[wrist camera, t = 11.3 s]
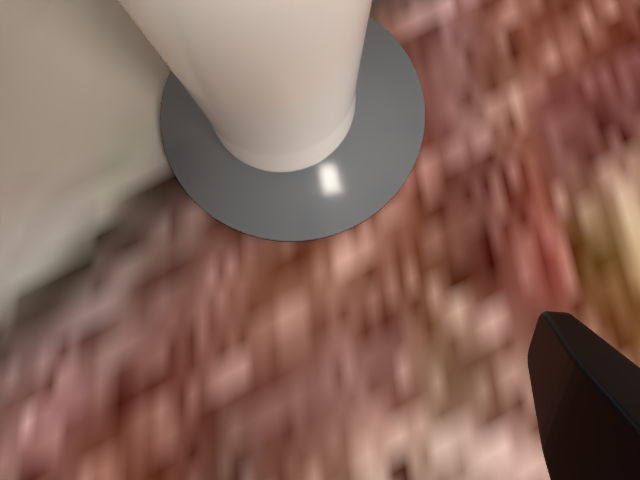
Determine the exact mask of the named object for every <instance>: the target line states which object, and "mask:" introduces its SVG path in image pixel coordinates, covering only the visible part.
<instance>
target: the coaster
mask: <svg viewBox="0 0 640 480" xmlns="http://www.w3.org/2000/svg"><path fill="white" fill-rule="evenodd" d="M160 121H161V135H162V140H163V145H164V149H165V153H166V155H167V158H168V161H169V164H170V166H171V168H172V170H173V172H174V174H175V176H176V177H177V179H178V181H179V182H180V184H181V185H182V186H183V188H184V189H185V191H186V192H187V193H188V195H189V196H190V197H191V198H192V199H193V200H194V201H195V202H196V203H197V204H198V205H199V206H200V207H201V208H202V209H203V210H204V211H205V212H207V213H208V214H209V215H211V216H212V217H213V218H214V219H216V220H218V221H219V222H221V223H223V224H224V225H226V226H228V227H230V228H232V229H234V230H236V231H239V232H241V233H244V234H246V235H249V236H253V237H257V238H261V239H265V240H272V241H280V242H302V241H310V240H318V239H322V238H326V237H330V236H334V235H337V234H339V233H342V232H344V231H347V230H349V229H352V228H353V227H355V226H357V225H359V224H361V223H362V222H364V221H366V220H367V219H369V218H370V217H371V216H373V215H374V214H376V213H377V212H378V211H380V210H381V209H382V208H383V207H384V206H385V205H386V204H387V203H388V202H389V201H390V200H391V199H392V198H393V197H394V196H395V194H396V193H397V192H398V191H399V189H400V188H401V187H402V186H403V184H404V182H405V181H406V179H407V177H408V176H409V174H410V172H411V170H412V168H413V166H414V163H415V161H416V159H417V156H418V154H419V151H420V147H421V143H422V139H423V134H424V125H425V105H424V98H423V93H422V88H421V84H420V81H419V78H418V75H417V72H416V70H415V68H414V66H413V64H412V62H411V60H410V58H409V57H408V55H407V54H406V52H405V51H404V49H403V48H402V46H401V45H400V44H399V43H398V41H397V40H396V39H395V38H394V37H393V36H392V35H391V33H389V32H388V31H387V30H386V29H385V28H384V27H383V26H382V25H380V24H379V23H378V22H377V21H375V20H374V19H372V18H371V17H369V21H368V26H367V31H366V36H365V41H364V47H363V52H362V57H361V63H360V68H359V74H358V80H357V86H356V107H355V113H354V118H353V121H352V124H351V127H350V129H349V131H348V133H347V135H346V137H345V138H344V140H343V141H342V143H341V144H340V145H339V146H338V147H337V149H336V150H335V151H334V152H333V153H332V154H330V155H329V156H328V157H327V158H325V159H324V160H322V161H321V162H319V163H317V164H315V165H313V166H311V167H308V168H305V169H302V170H298V171H294V172H282V173H278V172H268V171H263V170H259V169H256V168H254V167H251V166H249V165H247V164H245V163H243V162H241V161H240V160H238V159H237V158H236V157H234V156H233V155H232V154H231V153H230V152H229V151H228V150H227V149H226V148H225V147H224V146H223V144H222V143H221V142H220V140H219V139H218V137H217V135H216V134H215V132H214V130H213V128H212V126H211V124H210V122H209V120H208V119H207V118H206V116H205V115H204V114H203V112H202V111H201V110H200V108H199V107H198V105H197V104H196V103H195V101H194V100H193V99H192V97H191V96H190V95H189V93H188V92H187V91H186V89H185V88H184V87H183V85H182V84H181V83H180V81H179V80H178V79H177V77H176V76H175V75H174V74H173V72H172V71H171V72H170V75H169V77H168V80H167V83H166V86H165V89H164V94H163V98H162V103H161V117H160Z"/></svg>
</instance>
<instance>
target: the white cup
mask: <svg viewBox="0 0 640 480" xmlns="http://www.w3.org/2000/svg"><path fill="white" fill-rule="evenodd" d="M118 2H119V3H120V4H121V6H122V7H123V8H124V10H125V11H126V12H127V13H128V15H129V16H130V17H131V19H132V20H133V21H134V23H135V24H136V25H137V27H138V28H139V29H140V30H141V32H142V33H143V34H144V36H145V37H146V38H147V40H148V41H149V42H150V43H151V45H152V46H153V47H154V49H155V50H156V51H157V53H158V54H159V55H160V56H161V58H162V59H163V60H164V62H165V63H166V64H167V66H168V67H169V68H170V70H171V71H172V72H173V74H174V75H175V76H176V77H177V79H178V80H179V81H180V83H181V84H182V85H183V87H184V88H185V89H186V91H187V92H188V93H189V95H190V96H191V97H192V99H193V100H194V101H195V103H196V104H197V105H198V107H199V108H200V110H201V111H202V112H203V114H204V115H205V116H206V118H207V119H208V120H209V122H210V124H211V126H212V128H213V130H214V132H215V134H216V135H217V137H218V139H219V140H220V142H221V143H222V144H223V146H224V147H225V148H226V149H227V150H228V151H229V152H230V153H231V154H232V155H233V156H234V157H236V158H237V159H238V160H240V161H241V162H243V163H245V164H247V165H249V166H251V167H254V168H256V169H259V170H263V171H268V172H278V173H282V172H294V171H298V170H302V169H305V168H308V167H311V166H313V165H315V164H317V163H319V162H321V161H322V160H324V159H325V158H327V157H328V156H329V155H330V154H332V153H333V152H334V151H335V150H336V149H337V147H338V146H339V145H340V144H341V143H342V141H343V140H344V138H345V137H346V135H347V133H348V131H349V129H350V127H351V124H352V121H353V118H354V113H355V107H356V86H357V80H358V74H359V68H360V63H361V57H362V52H363V47H364V41H365V36H366V31H367V26H368V21H369V15H370V10H371V5H372V0H118Z"/></svg>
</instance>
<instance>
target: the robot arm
mask: <svg viewBox="0 0 640 480" xmlns="http://www.w3.org/2000/svg"><path fill="white" fill-rule="evenodd" d="M528 368H529V374H530V380H531V386H532V392H533V398H534V404H535V410H536V416H537V422H538V428H539V434H540V439H541V444H542V450H543V454H544V458H545V461H546V465H547V469H548V472H549V475H550V479H551V480H640V368H639V367H638V366H637V365H635V364H634V363H633V362H632V361H630V360H629V359H628V358H626V357H625V356H624V355H623V354H621V353H620V352H619V351H617V350H616V349H615V348H614V347H612V346H611V345H610V344H608V343H607V342H606V341H605V340H603V339H602V338H601V337H599V336H598V335H597V334H596V333H594V332H593V331H592V330H590V329H589V328H588V327H587V326H585V325H584V324H583V323H581V322H580V321H579V320H578V319H576V318H575V317H574V316H572V315H571V314H569V313H565V312H550V311H545V312H543V313H541V315H540V316H539V318H538V321H537V324H536V328H535V331H534V334H533V337H532V341H531V344H530V347H529V351H528Z"/></svg>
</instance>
